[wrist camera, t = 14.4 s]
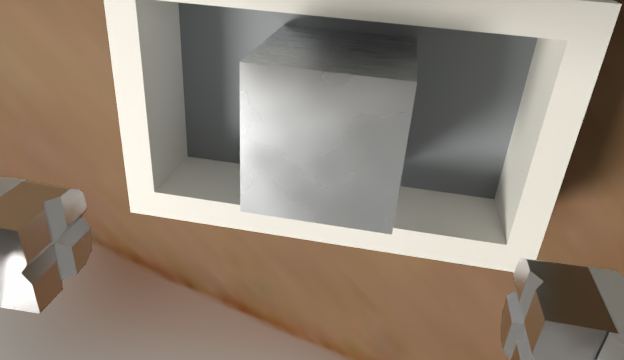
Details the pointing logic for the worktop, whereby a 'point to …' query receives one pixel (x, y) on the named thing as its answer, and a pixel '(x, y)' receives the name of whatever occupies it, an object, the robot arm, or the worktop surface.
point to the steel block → (326, 126)
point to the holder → (423, 128)
